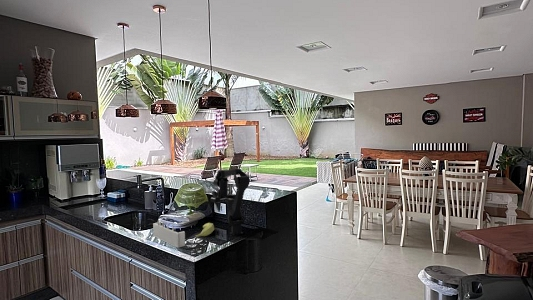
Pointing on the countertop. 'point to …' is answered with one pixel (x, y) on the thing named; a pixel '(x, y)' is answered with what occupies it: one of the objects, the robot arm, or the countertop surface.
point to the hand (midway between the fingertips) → (224, 210)
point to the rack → (168, 235)
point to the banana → (206, 230)
